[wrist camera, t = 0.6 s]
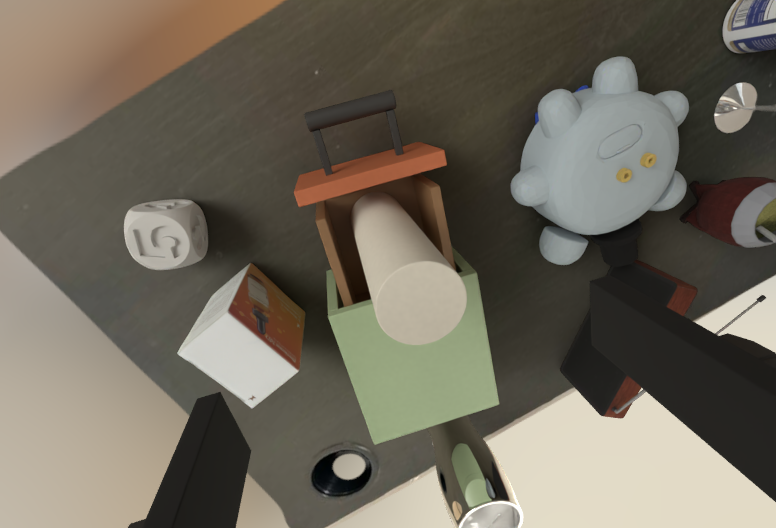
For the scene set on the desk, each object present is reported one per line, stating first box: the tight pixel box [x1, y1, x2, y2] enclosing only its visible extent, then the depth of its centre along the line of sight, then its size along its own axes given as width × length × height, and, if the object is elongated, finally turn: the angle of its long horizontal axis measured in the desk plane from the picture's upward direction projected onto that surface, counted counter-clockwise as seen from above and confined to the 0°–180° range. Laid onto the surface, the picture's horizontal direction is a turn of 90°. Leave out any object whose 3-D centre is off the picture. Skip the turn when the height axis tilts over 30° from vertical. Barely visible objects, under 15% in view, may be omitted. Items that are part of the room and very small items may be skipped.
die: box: [124, 199, 208, 270], centre depth 34 cm, size 5×5×5 cm
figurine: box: [511, 57, 689, 267], centre depth 38 cm, size 17×8×20 cm
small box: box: [178, 263, 305, 408], centre depth 36 cm, size 8×6×10 cm
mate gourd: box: [680, 177, 776, 248], centre depth 38 cm, size 8×8×15 cm
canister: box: [350, 192, 467, 345], centre depth 29 cm, size 5×5×18 cm
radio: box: [560, 260, 766, 418], centre depth 41 cm, size 19×3×15 cm, turn 164°
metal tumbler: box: [426, 415, 523, 528], centre depth 43 cm, size 7×7×15 cm
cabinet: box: [326, 246, 499, 445], centre depth 39 cm, size 15×13×10 cm
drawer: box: [294, 90, 456, 307], centre depth 34 cm, size 18×12×8 cm, turn 14°
